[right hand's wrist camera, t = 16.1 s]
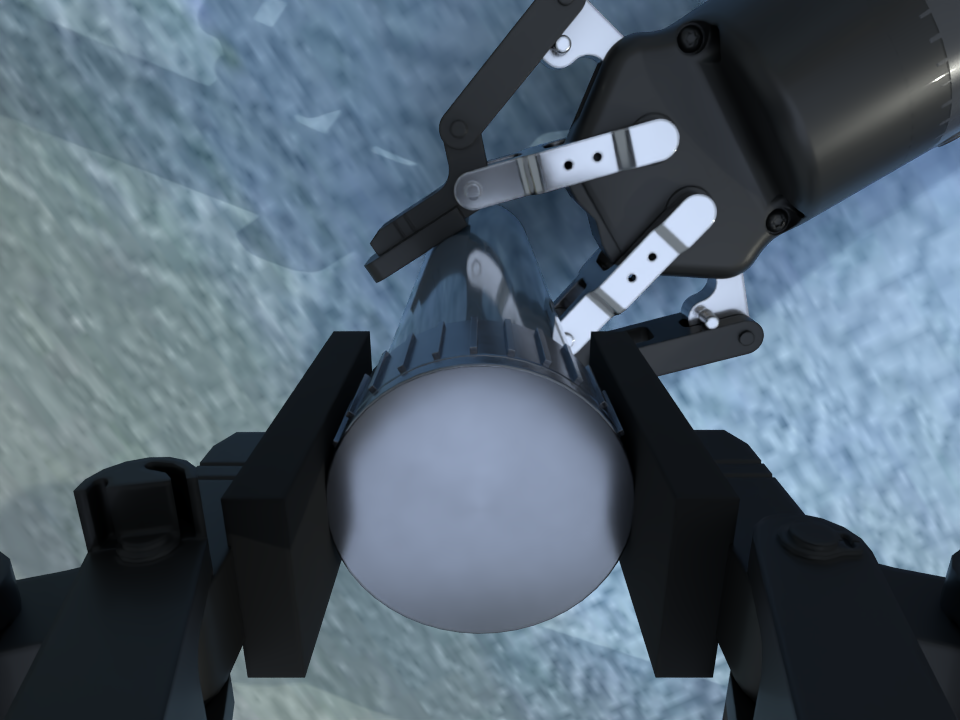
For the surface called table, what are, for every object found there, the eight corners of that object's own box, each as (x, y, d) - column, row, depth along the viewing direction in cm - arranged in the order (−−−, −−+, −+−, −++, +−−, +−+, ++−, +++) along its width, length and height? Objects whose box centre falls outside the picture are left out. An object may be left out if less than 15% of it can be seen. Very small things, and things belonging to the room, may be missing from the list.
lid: (292, 395, 12) (253, 454, 10) (537, 262, 11) (551, 296, 9) (432, 592, 13) (424, 679, 11) (657, 488, 12) (692, 561, 10)
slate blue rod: (467, 180, 28) (443, 308, 10) (548, 238, 29) (669, 458, 11) (412, 262, 30) (297, 516, 11) (491, 315, 30) (510, 636, 12)
